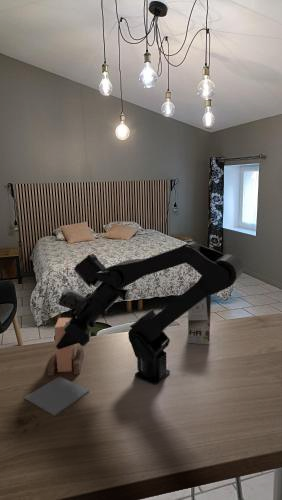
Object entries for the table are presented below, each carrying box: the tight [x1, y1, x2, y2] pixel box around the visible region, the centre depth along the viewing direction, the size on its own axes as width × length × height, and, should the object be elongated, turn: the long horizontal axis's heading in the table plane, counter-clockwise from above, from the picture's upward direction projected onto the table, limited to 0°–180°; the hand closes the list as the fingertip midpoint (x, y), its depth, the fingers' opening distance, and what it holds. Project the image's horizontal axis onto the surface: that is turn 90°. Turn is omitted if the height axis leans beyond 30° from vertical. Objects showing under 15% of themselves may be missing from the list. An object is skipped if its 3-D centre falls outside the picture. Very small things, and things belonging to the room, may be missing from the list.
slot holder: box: [46, 345, 85, 376], centre depth 90 cm, size 8×9×3 cm
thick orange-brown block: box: [53, 317, 76, 373], centre depth 90 cm, size 4×6×12 cm, turn 3°
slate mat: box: [24, 376, 90, 417], centre depth 78 cm, size 10×10×1 cm
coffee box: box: [187, 282, 212, 345], centre depth 104 cm, size 9×6×16 cm
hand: (59, 342), depth 89 cm, fingers closed on thick orange-brown block, 6 cm apart
